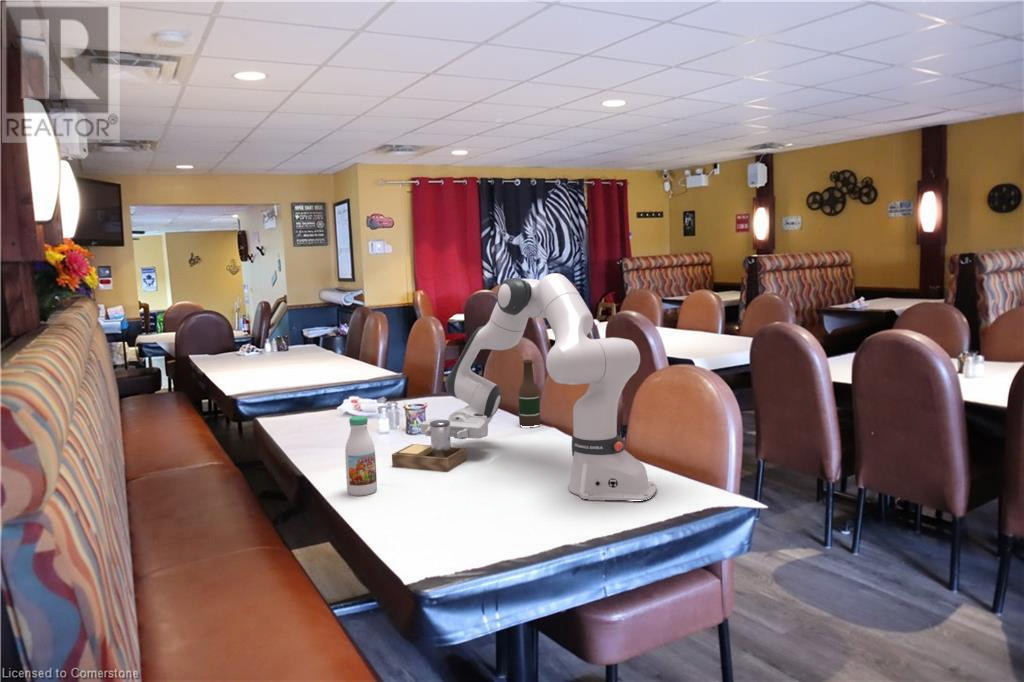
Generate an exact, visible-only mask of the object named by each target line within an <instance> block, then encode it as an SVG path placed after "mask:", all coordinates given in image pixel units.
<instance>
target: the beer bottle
mask: <svg viewBox="0 0 1024 682" xmlns="http://www.w3.org/2000/svg"><path fill="white" fill-rule="evenodd" d="M533 361H534V360H532V359H524V360H522V364H523V373H522V376H523V377H522V378H523V379H522V382H521V384H520V386H519V389H518V395H517V396H518V422H519V423H518V424H519V426H520V425H522V426H534V425H541V415H540V414H541V413H540V412H541V411H540V409H541V408H540V407H541V406H540V391H539V388H538V385H537V384H536V383H535V380H534V379H535V378H534V369H533V363H534V362H533Z"/></svg>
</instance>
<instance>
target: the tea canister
mask: <svg viewBox="0 0 1024 682" xmlns="http://www.w3.org/2000/svg"><path fill="white" fill-rule="evenodd" d="M430 429H431V436H430V443H431V445H430V446H431V449H432V457H438V458H447V457H449V456H450V455H451V447H452V446H451V437H450V421H448V420H436V421H432V422H430Z"/></svg>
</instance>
